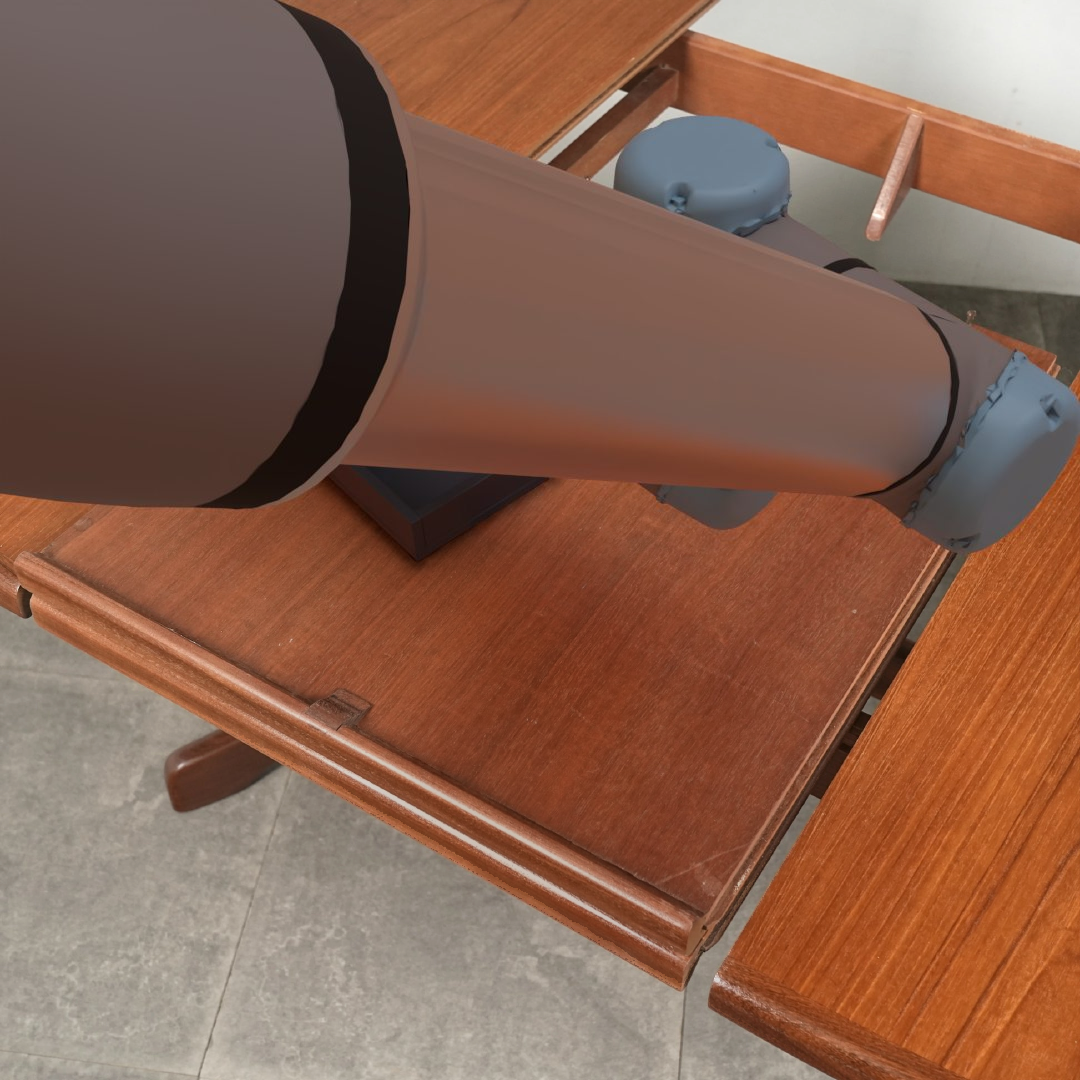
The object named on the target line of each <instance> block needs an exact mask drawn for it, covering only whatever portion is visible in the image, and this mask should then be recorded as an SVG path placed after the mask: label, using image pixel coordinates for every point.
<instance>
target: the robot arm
mask: <svg viewBox="0 0 1080 1080" xmlns="http://www.w3.org/2000/svg"><path fill="white" fill-rule="evenodd" d="M790 171H791V169H790V161H789V158H788V157H787V155H786V154H785V153H784V152H783V151H782V148H781V147H780V145H779V143H778V141H777V139H776V138H775V137H774V136H772V134H771V133H768V132H767V131H765V130H764V129H762V128H761V127H759V126H756V125H754V124H752V123H749V122H747V121H745V120H741V119H738V118H733V117H728V116H721V115H701V114H700V115H687V116H679V117H674V118H670V119H667V120H663V121H662V122H660V123H659V124H658V125H656V126H654V127H649V128H646V129H644V130H642V131H641V132H639V133H637V134H636V135H635V136H634V137H632V138H631V139H630V141H628V142H627V144H626V145H625V146H624V147H623V149H622V150H621V152H620V154H619V156H618V158H617V161H616V163H615V168H614V175H613V188H611V187H608V186H606V185H603V184H600V183H598V182H595V181H593V180H589V179H588V178H585V177H582V176H579V175H577V174H574V173H571V172H569V171H565V170H563V169H561V168H558V167H556V166H552V165H550V164H547V163H545V162H542V161H539V160H536V159H534V158H531V157H529V156H526V155H523V154H521V153H518V152H515V151H514V150H510V149H507V148H505V147H502V146H499V145H497V144H494V143H491V142H489V141H486V140H483V139H481V138H478V137H476V136H472V135H470V134H467V133H465V132H462V131H460V130H456V129H454V128H452V127H449V126H446V125H444V124H440V123H438V122H436V121H433V120H431V119H427V118H425V117H422V116H420V115H417V114H414V113H411V112H409V111H407V110H404V109H403V106H402V104H401V102H400V99H399V96H398V94H397V92H396V90H395V88H394V86H393V84H392V82H391V81H390V79H389V77H388V75H387V74H386V71H385V70H384V68H383V67H382V66H381V64H380V63H379V62H378V60H377V59H376V58H375V57H374V56H373V54H372V53H371V52H370V51H369V49H368V48H367V47H366V46H365V45H364V44H363V43H361V42H360V41H359V40H358V39H356V37H354V36H353V35H352V34H350V33H349V32H348V31H347V30H345V29H343V28H342V27H339V26H337V25H335V24H333V23H331V22H329V21H328V20H325V19H323V18H320V17H318V16H317V15H314V14H311V13H309V12H306V11H304V10H302V9H299V8H297V7H295V6H293V5H290V4H288V3H285V2H283V1H281V0H0V495H8V496H13V497H14V496H15V497H16V496H17V497H23V498H30V499H38V500H44V501H53V502H63V503H75V504H87V505H88V504H89V505H99V506H100V505H101V506H102V505H103V506H116V507H129V508H175V509H176V508H177V509H179V508H180V509H181V508H182V509H183V508H185V509H186V508H187V509H189V508H191V509H192V508H193V509H194V508H196V509H197V508H198V509H225V510H226V509H227V510H258V509H264V508H271V507H276V506H278V505H281V504H284V503H286V502H289V501H292V500H294V499H296V498H298V497H299V496H301V495H302V494H304V493H306V492H307V491H309V490H310V489H313V488H314V487H316V486H317V485H318V484H320V483H321V482H322V481H323V480H324V479H325V478H326V477H328V476H327V475H328V474H329V473H330V472H331V471H333V470H334V469H335V468H336V467H337V466H338V465H339V464H346V465H362V466H378V467H394V468H409V469H425V470H441V471H457V472H473V473H488V474H504V475H520V476H536V477H549V478H553V479H554V478H555V479H571V480H583V481H584V480H586V481H600V482H615V483H616V482H617V483H618V482H619V483H633V484H637V485H639V486H640V487H642V488H643V489H644V490H646V491H647V492H649V493H650V494H652V496H654V497H655V500H657V501H658V502H659V504H662V505H664V504H667V505H669V506H671V507H672V508H674V509H676V510H678V512H679V511H680V512H681V513H683V514H684V515H686V516H687V517H690V518H691V519H693V520H695V521H697V522H698V523H701V524H702V525H704V526H705V527H707V528H709V529H713V530H718V531H727V530H728V531H729V530H732V529H736V528H739V527H741V526H742V525H744V524H745V525H746V524H747V523H748V522H750V521H751V520H752V519H754V518H755V517H756V516H757V515H758V514H759V513H760V512H762V511H764V509H765V508H766V507H768V505H769V504H770V503H771V502H772V501H773V500H774V498H775V497H776V496H777V494H778V493H789V494H805V495H806V494H808V495H820V496H821V495H824V496H836V497H837V496H839V497H848V498H853V499H860V500H861V499H862V500H863V499H865V500H871V501H873V502H875V503H877V504H879V505H880V506H882V507H883V508H884V509H886V510H888V512H890V513H892V515H894V516H896V517H897V518H898V519H899V520H900V521H899V524H900V525H902V526H903V527H904V528H905V529H906V530H907V529H908V530H909V529H910V530H914V531H915V532H917V533H918V534H920V535H922V536H924V537H925V538H927V539H929V540H930V541H932V542H933V543H935V544H937V545H938V546H940V547H942V548H943V549H945V550H947V551H949V552H951V553H955V554H959V555H968V554H975V553H978V552H981V551H984V550H986V549H987V548H989V547H992V546H993V545H994V544H996V543H998V542H1000V541H1001V540H1002V539H1004V538H1005V537H1007V536H1008V535H1009V534H1010V533H1012V532H1013V531H1014V530H1015V529H1016V528H1017V527H1018V526H1019V525H1020V524H1021V523H1022V522H1023V521H1024V520H1025V519H1026V518H1027V517H1028V516H1029V515H1030V514H1031V513H1032V512H1033V510H1035V508H1036V507H1037V506H1038V505H1039V504H1040V502H1041V501H1042V500H1043V498H1044V497H1046V495H1047V493H1048V492H1049V491H1050V490H1051V488H1052V487H1053V485H1054V484H1055V482H1056V481H1057V479H1058V478H1059V476H1060V475H1061V473H1062V472H1063V471H1064V468H1065V467H1066V465H1067V464H1068V462H1069V460H1070V458H1071V456H1072V454H1073V451H1074V449H1075V447H1076V445H1077V443H1078V440H1079V436H1080V400H1079V398H1078V396H1077V395H1076V394H1075V392H1074V391H1073V390H1072V389H1071V388H1070V387H1069V386H1067V385H1066V384H1064V383H1062V382H1061V381H1060V380H1059V379H1057V378H1055V377H1054V376H1052V375H1051V374H1050V373H1048V372H1047V371H1045V370H1043V368H1040V367H1039V366H1037V365H1036V364H1034V363H1033V362H1031V361H1030V360H1029V358H1028V356H1027V355H1026V354H1025V353H1024V352H1022V351H1021V350H1018V349H1017V348H1015V349H1014V350H1011V349H1010V348H1008V347H1007V346H1005V345H1004V344H1001V343H1000V342H999V341H997V340H995V339H993V338H991V337H990V336H988V335H987V334H985V333H983V332H982V331H980V330H978V329H977V328H975V327H973V326H971V325H970V324H968V323H966V322H965V321H963V320H962V319H960V318H958V317H957V316H956V315H955V316H954V315H953V314H951V313H950V312H948V311H947V310H945V309H943V308H941V307H940V306H938V305H936V304H934V303H933V302H932V301H929V300H928V299H926V298H925V297H922V296H920V295H919V294H917V293H915V292H914V291H912V290H910V289H908V288H907V287H905V286H903V285H901V284H900V283H898V282H897V281H895V280H893V279H892V278H889V277H888V276H886V275H884V274H883V273H881V272H879V270H878V269H876V268H875V267H874V266H871V265H869V264H868V263H867V262H865V261H864V260H862V259H861V258H859V257H858V256H857V255H855V254H853V253H851V252H849V251H848V250H846V249H845V248H843V247H841V246H839V245H838V244H836V243H834V242H833V241H831V240H829V239H828V238H826V237H825V236H823V235H822V234H820V233H818V232H816V231H815V230H814V229H812V228H810V227H808V226H807V225H805V224H803V223H802V222H800V221H798V220H797V219H794V218H793V217H791V216H790V215H789V213H788V210H789V209H788V208H789V203H790V200H791V198H792V197H793V193H792V190H791V181H790V180H791V177H790V175H791V172H790Z"/></svg>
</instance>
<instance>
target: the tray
mask: <svg viewBox="0 0 1080 1080" xmlns="http://www.w3.org/2000/svg"><path fill="white" fill-rule="evenodd" d="M326 477H328V478H329V479H330V480H331V481H332V482H333V483H334V484H335V485H336V486H337V487H338V488H339V489H341V491H342V492H343V493H345V494H346V496H347V497H349V498H350V499H351V501H353V502H354V503H355V504H356V505H357V506H358V507H360V509H361V510H362V511H364V513H366V514H367V515H368V516H369V517H370V518H371V519H372V520H373V521H374V522H375V523H376V524H377V525H378V526H380V528H381V529H383V530H384V531H385V532H386V533H387V534H388V535H389V536H390V537H391V538H392V539H393V540H394V541H395V542H396V543H397V544H398V545H399V546H400V547H401V548H403V549H404V550H405V551H406V552H407V553H408V554H409V555H410V556H411V557H412V558H413V559H414V560H415V561H416V562H419V561H421V560H423V559H424V558H426V557H427V556H429V555H430V554H432V553H434V552H435V551H437V550H439V549H440V548H442V547H444V546H445V545H446V544H449V543H450V542H451V541H452V540H454V539H456V538H457V537H459V536H461V535H462V534H464V533H465V532H467V531H469V530H470V529H472V528H474V527H475V526H476V525H478V524H479V523H481V522H483V521H484V520H486V519H488V518H490V517H491V516H492V515H494V514H495V513H497V512H499V511H500V510H501V509H503V508H505V507H506V506H508V505H510V504H511V503H513V502H515V501H516V500H518V499H519V498H520V497H522V496H523V495H525V494H527V493H528V492H530V491H531V490H533V489H535V488H536V487H538V486H539V485H541V484H543V483H544V482H546V481H548V480H549V479H550V477H536V476H520V475H504V474H488V473H473V472H457V471H441V470H425V469H409V468H394V467H378V466H362V465H346V464H339V465H338V466H337V467H336V468H335V469H334V470H333V471H331V472H330V473H329V474H328V475H327V476H326Z"/></svg>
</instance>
